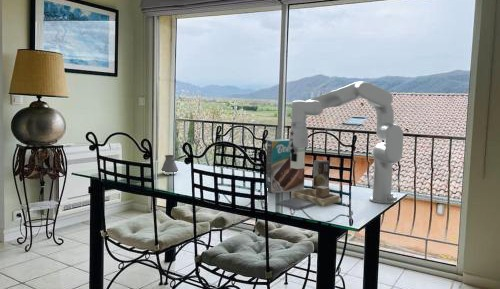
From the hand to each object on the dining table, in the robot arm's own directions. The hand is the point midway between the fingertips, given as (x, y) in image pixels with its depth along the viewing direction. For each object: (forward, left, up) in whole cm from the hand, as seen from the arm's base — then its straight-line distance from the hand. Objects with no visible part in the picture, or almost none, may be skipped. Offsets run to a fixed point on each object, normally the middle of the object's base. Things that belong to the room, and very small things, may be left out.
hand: (297, 160), depth 225 cm
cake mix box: (+25, -18, -24) cm, 39 cm away
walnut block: (-5, -15, -23) cm, 28 cm away
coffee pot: (+103, +8, -24) cm, 106 cm away
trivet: (0, 0, -23) cm, 23 cm away
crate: (0, -15, -23) cm, 28 cm away
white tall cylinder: (0, 0, -4) cm, 4 cm away
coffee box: (+18, -42, -24) cm, 51 cm away
